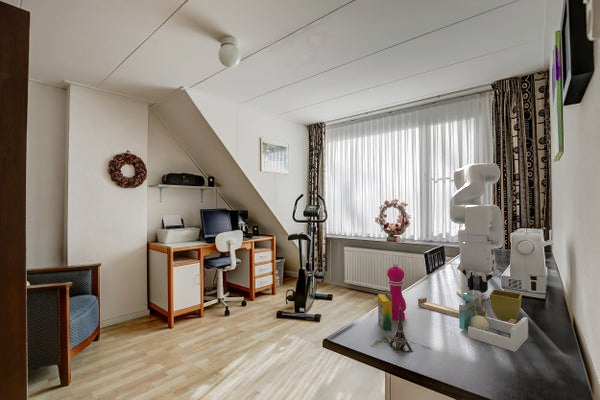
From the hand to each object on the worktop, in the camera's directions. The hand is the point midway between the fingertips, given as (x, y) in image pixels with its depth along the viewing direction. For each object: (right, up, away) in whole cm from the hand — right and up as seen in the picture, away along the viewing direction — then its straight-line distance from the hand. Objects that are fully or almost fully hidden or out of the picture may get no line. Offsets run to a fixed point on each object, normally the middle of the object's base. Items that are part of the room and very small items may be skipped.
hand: (477, 290), depth 102 cm
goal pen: (-2, -10, -13) cm, 17 cm away
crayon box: (-35, -11, -5) cm, 37 cm away
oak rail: (-3, -11, +4) cm, 12 cm away
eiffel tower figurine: (-34, -11, -19) cm, 41 cm away
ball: (-5, -8, -9) cm, 13 cm away
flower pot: (+11, -11, +2) cm, 16 cm away
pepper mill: (-28, -11, +3) cm, 31 cm away
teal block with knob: (-5, -10, -4) cm, 12 cm away
